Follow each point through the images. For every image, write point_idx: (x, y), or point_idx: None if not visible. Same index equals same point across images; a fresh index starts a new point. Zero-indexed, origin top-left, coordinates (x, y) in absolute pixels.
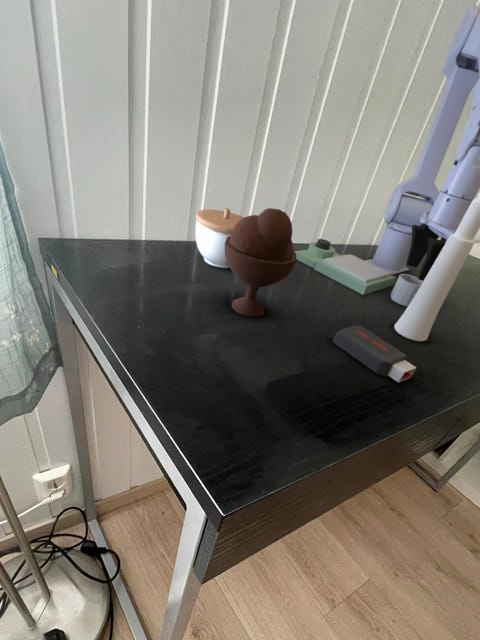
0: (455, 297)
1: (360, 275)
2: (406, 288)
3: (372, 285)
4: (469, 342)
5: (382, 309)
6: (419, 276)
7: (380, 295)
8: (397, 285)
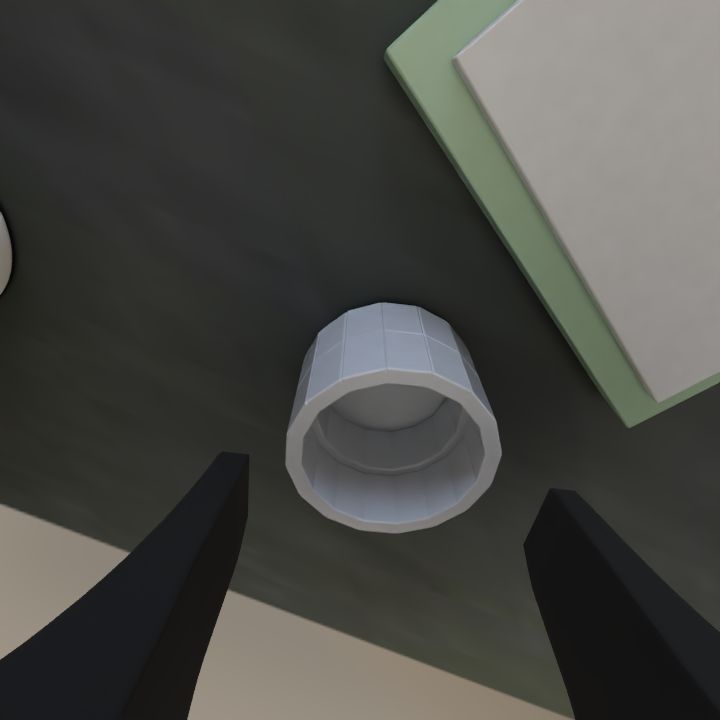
0: (515, 648)
1: (562, 20)
2: (314, 375)
3: (445, 148)
4: (38, 510)
5: (181, 150)
6: (223, 463)
7: (429, 240)
8: (385, 337)
